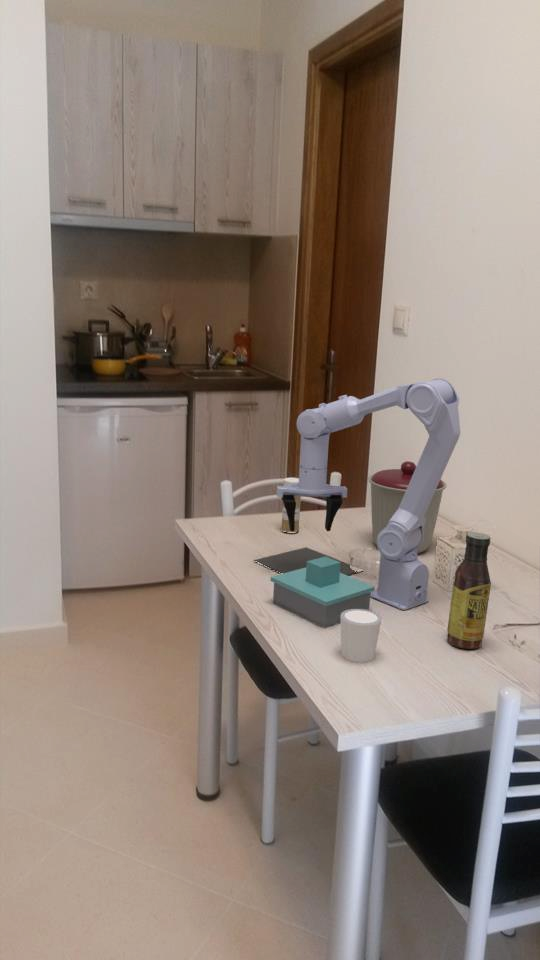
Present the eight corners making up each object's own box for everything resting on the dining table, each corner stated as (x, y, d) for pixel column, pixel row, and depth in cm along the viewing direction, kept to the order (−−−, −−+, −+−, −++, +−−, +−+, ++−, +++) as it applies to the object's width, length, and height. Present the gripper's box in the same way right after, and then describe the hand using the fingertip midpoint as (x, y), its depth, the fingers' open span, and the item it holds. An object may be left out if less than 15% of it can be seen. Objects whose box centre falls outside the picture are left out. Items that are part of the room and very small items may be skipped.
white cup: (329, 653, 135) (331, 614, 134) (355, 642, 140) (358, 604, 138) (360, 668, 131) (364, 628, 129) (386, 656, 135) (390, 617, 134)
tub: (368, 612, 153) (370, 590, 152) (324, 627, 145) (325, 604, 144) (317, 589, 163) (318, 568, 162) (272, 603, 155) (274, 581, 154)
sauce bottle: (466, 654, 137) (478, 543, 133) (438, 640, 142) (450, 533, 138) (490, 645, 141) (504, 537, 137) (463, 632, 146) (475, 528, 141)
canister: (392, 531, 205) (399, 450, 200) (454, 549, 192) (463, 464, 187) (347, 545, 192) (354, 459, 187) (410, 566, 180) (419, 474, 175)
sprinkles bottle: (282, 534, 198) (285, 481, 195) (279, 528, 202) (282, 476, 199) (300, 534, 199) (303, 481, 195) (297, 528, 203) (300, 477, 200)
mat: (363, 571, 175) (363, 569, 175) (310, 586, 164) (310, 585, 164) (305, 548, 188) (306, 547, 188) (253, 561, 177) (253, 560, 177)
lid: (374, 594, 152) (376, 566, 151) (325, 610, 144) (327, 580, 142) (318, 571, 163) (320, 545, 161) (270, 584, 154) (271, 557, 153)
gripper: (343, 462, 170) (339, 524, 173) (275, 462, 168) (272, 524, 171) (351, 470, 163) (346, 534, 167) (280, 469, 161) (277, 534, 164)
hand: (309, 529), depth 169 cm, fingers open, 7 cm apart
